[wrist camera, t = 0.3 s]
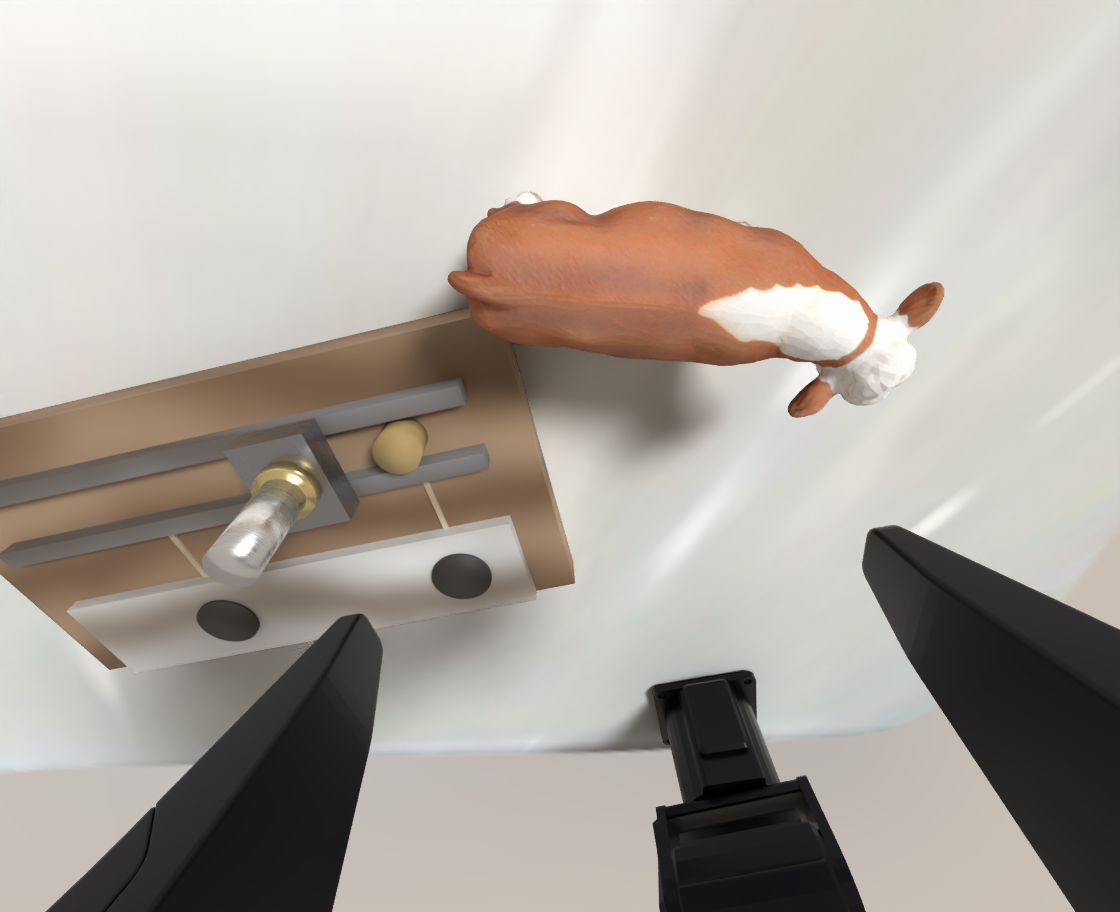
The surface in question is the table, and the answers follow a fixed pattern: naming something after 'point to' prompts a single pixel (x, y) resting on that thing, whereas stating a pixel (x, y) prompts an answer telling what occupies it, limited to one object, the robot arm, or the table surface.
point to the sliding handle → (278, 497)
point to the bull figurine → (683, 294)
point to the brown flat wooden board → (220, 494)
